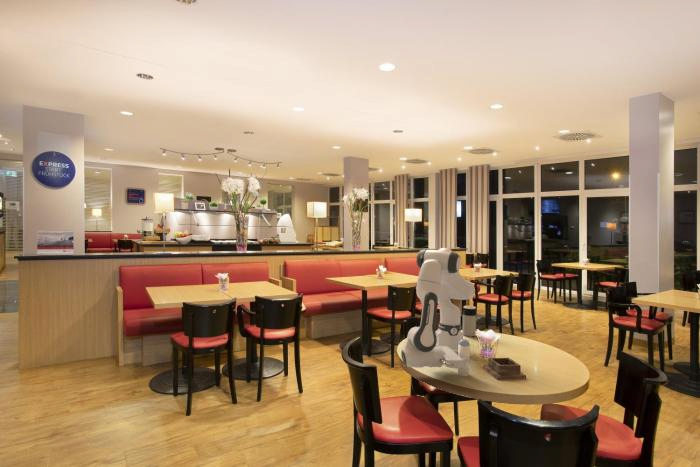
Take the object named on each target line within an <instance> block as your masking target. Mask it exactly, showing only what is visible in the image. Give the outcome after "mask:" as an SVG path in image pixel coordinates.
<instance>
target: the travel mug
mask: <svg viewBox="0 0 700 467" xmlns="http://www.w3.org/2000/svg"><path fill="white" fill-rule="evenodd" d="M476 308H477V307H476V306H473V305H464V306H463V311H462V328H461V332H462V333H463V337H464V336H465V337H467V336H469V338H473V337H472V336H474V337H475V336H476V332H477V330H476V329H477V327H476V326H477V312H476Z"/></svg>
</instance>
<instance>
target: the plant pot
mask: <svg viewBox="0 0 700 467" xmlns="http://www.w3.org/2000/svg"><path fill="white" fill-rule="evenodd" d="M420 316H421V317H422V308H421V309H420ZM439 322H440V308H437V313H436V322H435V331H437V330H438V329H439Z"/></svg>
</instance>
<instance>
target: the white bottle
mask: <svg viewBox="0 0 700 467" xmlns="http://www.w3.org/2000/svg"><path fill="white" fill-rule="evenodd" d="M470 346H471V344H470V342H469V340H467V338H466V339H465V338H463V339H462V340H460V341H459V344H458V356H459V357H461V358H463V359H464V358H465V357H468V358H470V348H471V347H470ZM457 375H458V376H460V377H469V376H470V362H466V363H464V367H463V368H457Z"/></svg>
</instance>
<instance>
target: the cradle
mask: <svg viewBox="0 0 700 467" xmlns="http://www.w3.org/2000/svg"><path fill="white" fill-rule="evenodd" d="M487 363H488V364H483V365H482V369H484V370H485V371H486V372H487V373H489V375H490V376H492V377H493V378H495V379H496V380H497V381H499V380H526V379H527V374H525V373H524V372H522V371H521V368H522V367H521V365H520V363H518V362H516V361H514V360H513V359H512V358H510V357H488V362H487Z"/></svg>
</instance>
